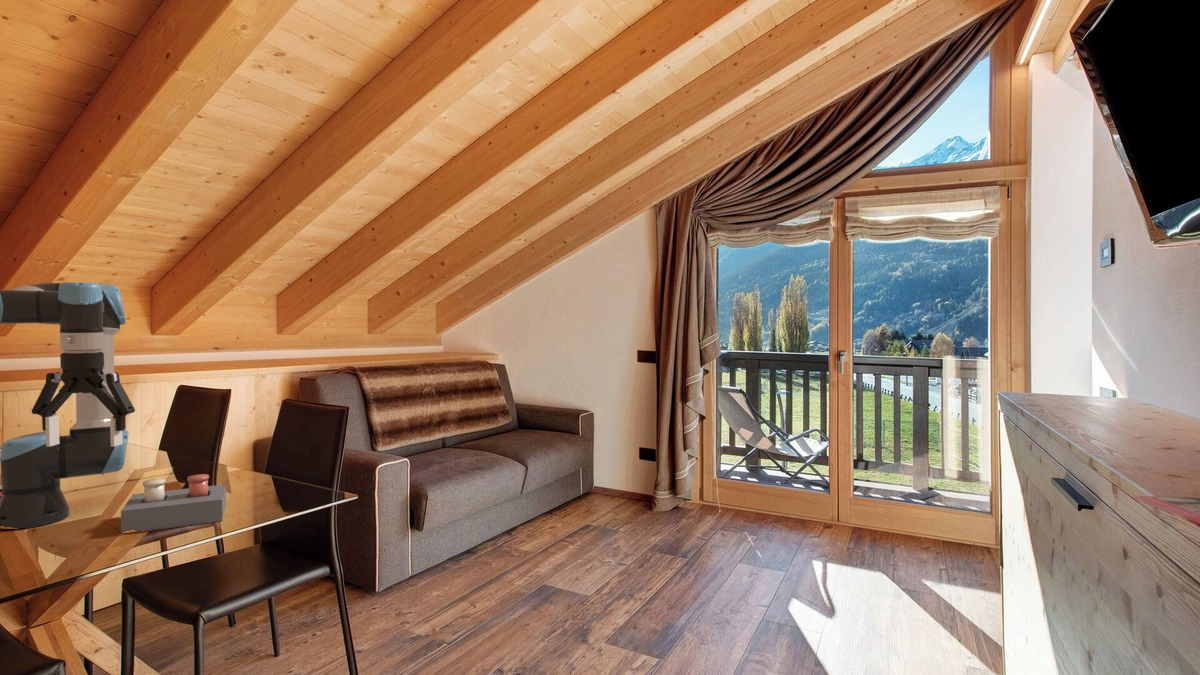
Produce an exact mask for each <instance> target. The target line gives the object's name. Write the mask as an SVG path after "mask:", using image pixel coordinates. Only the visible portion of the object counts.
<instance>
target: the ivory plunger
mask: <svg viewBox="0 0 1200 675" xmlns="http://www.w3.org/2000/svg"><path fill="white" fill-rule="evenodd" d="M166 482H167V481H166V479H165V478H152V479H151V478H150V479H146V480H143V482H142V486H143V493H144V498H145V503H149V502H158V501H165V492H164V491H165V484H166Z"/></svg>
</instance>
